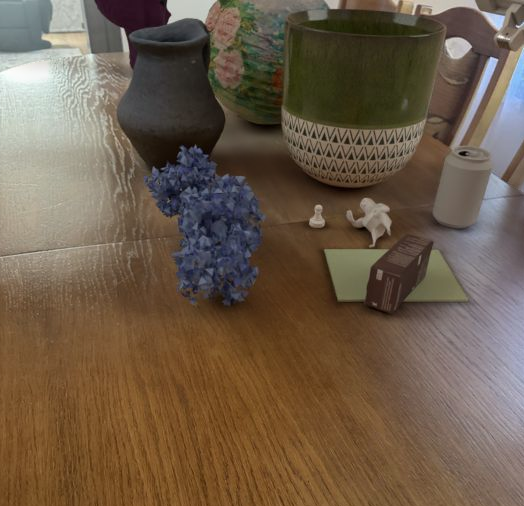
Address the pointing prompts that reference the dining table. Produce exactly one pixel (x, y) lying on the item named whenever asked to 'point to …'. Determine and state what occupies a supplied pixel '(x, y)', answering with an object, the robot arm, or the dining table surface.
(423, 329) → the dining table surface
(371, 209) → the figurine
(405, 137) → the planter
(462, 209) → the can
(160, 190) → the decorative sculpture
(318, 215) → the chess pawn
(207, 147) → the pitcher
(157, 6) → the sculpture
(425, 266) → the box
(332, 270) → the mat
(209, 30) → the floral painted vase
